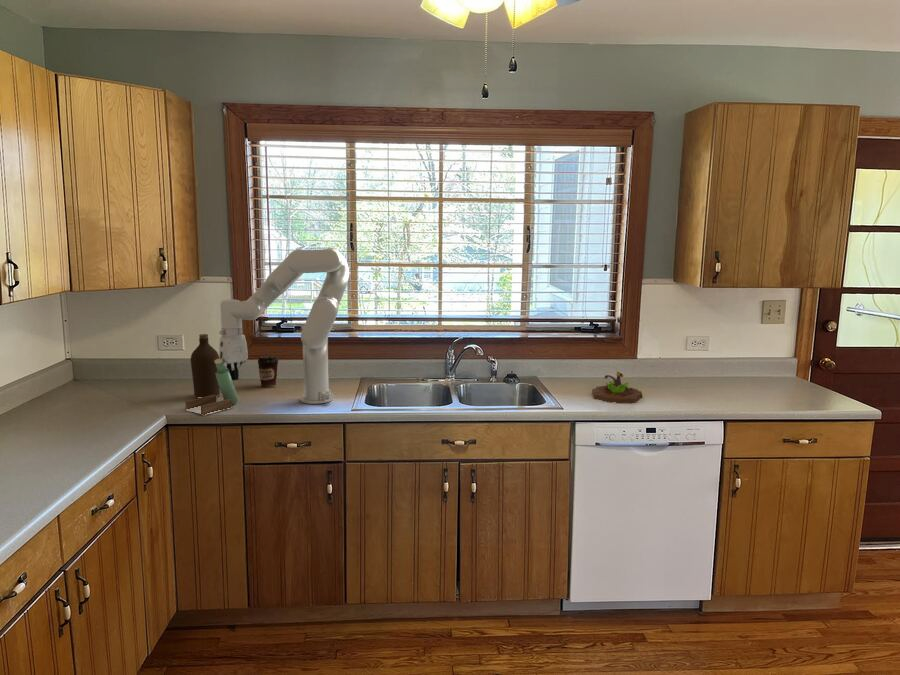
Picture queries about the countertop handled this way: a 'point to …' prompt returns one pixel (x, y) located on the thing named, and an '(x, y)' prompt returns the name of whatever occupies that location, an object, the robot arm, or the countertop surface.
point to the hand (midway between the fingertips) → (234, 379)
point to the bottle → (225, 381)
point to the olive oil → (204, 369)
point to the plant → (616, 391)
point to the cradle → (209, 404)
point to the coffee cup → (268, 370)
